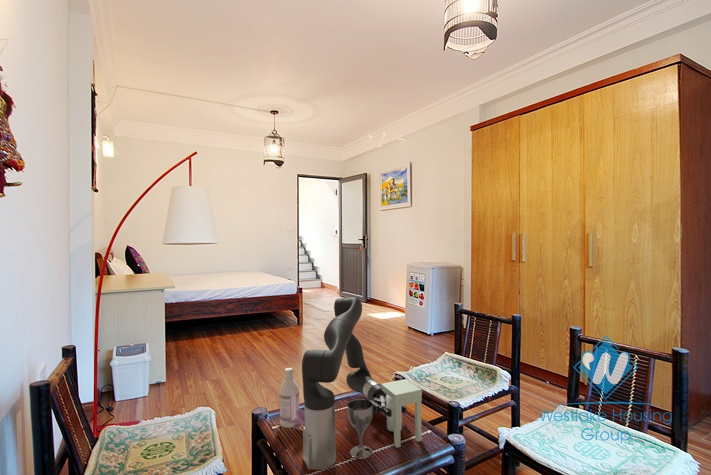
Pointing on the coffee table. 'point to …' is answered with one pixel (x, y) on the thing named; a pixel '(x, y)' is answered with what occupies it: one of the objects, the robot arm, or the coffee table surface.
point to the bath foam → (288, 399)
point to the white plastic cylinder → (391, 419)
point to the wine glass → (360, 424)
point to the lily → (298, 419)
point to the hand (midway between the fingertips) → (397, 412)
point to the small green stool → (404, 395)
